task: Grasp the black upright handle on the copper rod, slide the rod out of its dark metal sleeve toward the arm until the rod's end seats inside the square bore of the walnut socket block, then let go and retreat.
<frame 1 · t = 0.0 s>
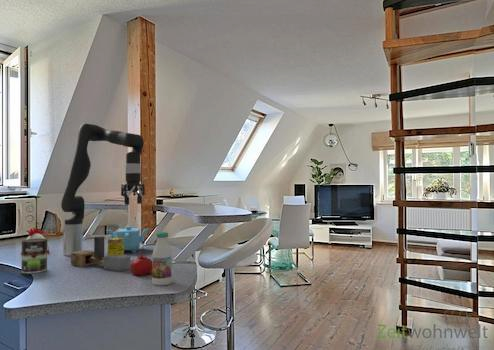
hand: (133, 204, 182), 29 cm above the worktop, tool pointing down, fingers open, 8 cm apart
coffee can: (34, 271, 163), on the worktop
teakettle: (128, 251, 211), on the worktop
sleeve: (116, 268, 166), on the worktop
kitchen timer: (35, 254, 204), on the worktop
socket block: (83, 264, 176), on the worktop
milk bottle: (162, 283, 141), on the worktop
rod: (107, 251, 169), point 8 cm above the worktop, slide at 0.0 cm
pomegranate: (142, 274, 156), on the worktop
supplement box: (115, 259, 186), on the worktop
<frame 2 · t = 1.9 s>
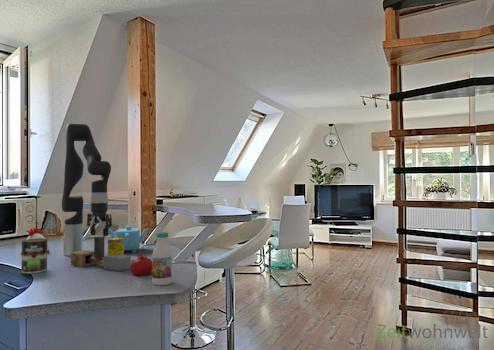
hand: (99, 235, 171), 15 cm above the worktop, tool pointing down, fingers open, 8 cm apart
nothing on the worktop moved.
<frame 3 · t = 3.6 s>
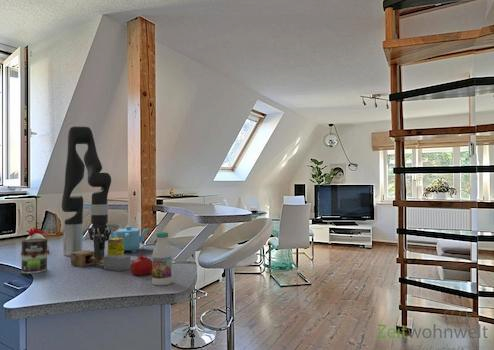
hand: (99, 249, 171), 8 cm above the worktop, tool pointing down, fingers closed on rod, 3 cm apart
rod: (107, 251, 169), point 8 cm above the worktop, slide at 0.0 cm, touching gripper
everything else where it was.
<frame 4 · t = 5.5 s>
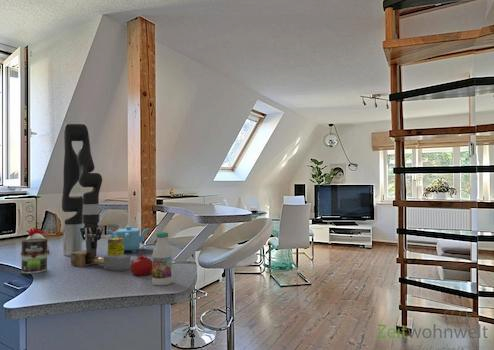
hand: (91, 248, 173), 8 cm above the worktop, tool pointing down, fingers closed on rod, 3 cm apart
rod: (99, 250, 171), point 8 cm above the worktop, slide at 5.4 cm, touching gripper, socket block
everything else where it was.
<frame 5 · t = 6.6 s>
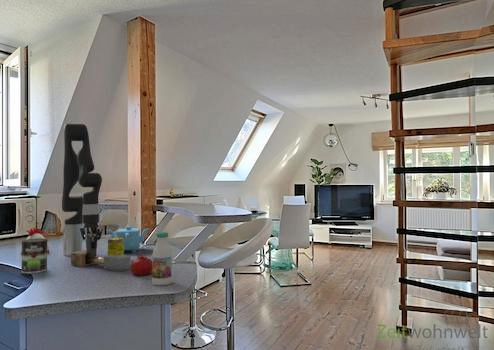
hand: (91, 248, 173), 8 cm above the worktop, tool pointing down, fingers closed on rod, 3 cm apart
rod: (99, 250, 171), point 8 cm above the worktop, slide at 5.4 cm, touching gripper, socket block
everything else where it was.
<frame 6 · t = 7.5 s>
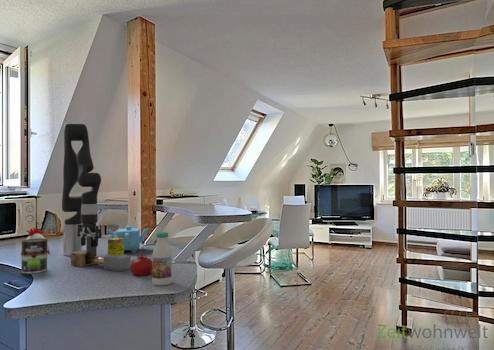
hand: (89, 246, 174), 9 cm above the worktop, tool pointing down, fingers open, 8 cm apart
rod: (99, 250, 171), point 8 cm above the worktop, slide at 5.4 cm, touching socket block
everything else where it was.
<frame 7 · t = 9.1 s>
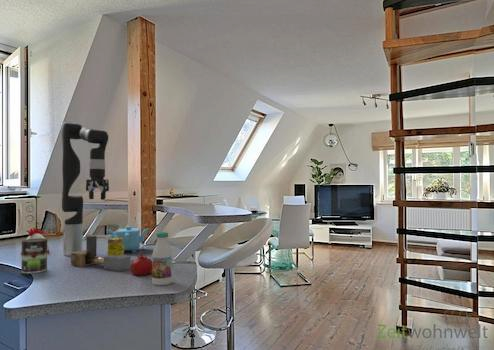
hand: (97, 199, 185), 32 cm above the worktop, tool pointing down, fingers open, 8 cm apart
nothing on the worktop moved.
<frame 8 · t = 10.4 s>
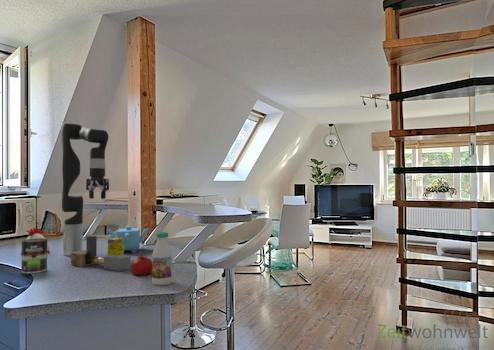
hand: (97, 198, 185), 32 cm above the worktop, tool pointing down, fingers open, 8 cm apart
nothing on the worktop moved.
at the end: rod slide at 5.4 cm; the gripper is holding nothing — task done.
